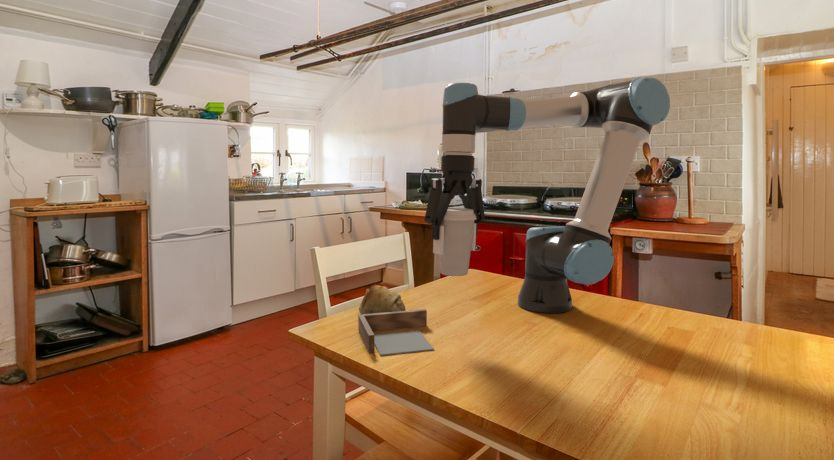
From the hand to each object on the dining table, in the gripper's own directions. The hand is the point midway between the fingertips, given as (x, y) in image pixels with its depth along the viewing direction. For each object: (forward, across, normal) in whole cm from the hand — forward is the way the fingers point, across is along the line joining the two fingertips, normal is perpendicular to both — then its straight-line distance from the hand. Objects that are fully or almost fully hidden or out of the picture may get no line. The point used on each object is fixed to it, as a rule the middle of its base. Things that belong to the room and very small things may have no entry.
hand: (454, 251), depth 111 cm
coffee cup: (+5, 0, 0) cm, 5 cm away
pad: (+20, +12, -3) cm, 24 cm away
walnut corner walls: (+20, +11, -6) cm, 24 cm away
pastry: (+21, +4, -24) cm, 32 cm away
